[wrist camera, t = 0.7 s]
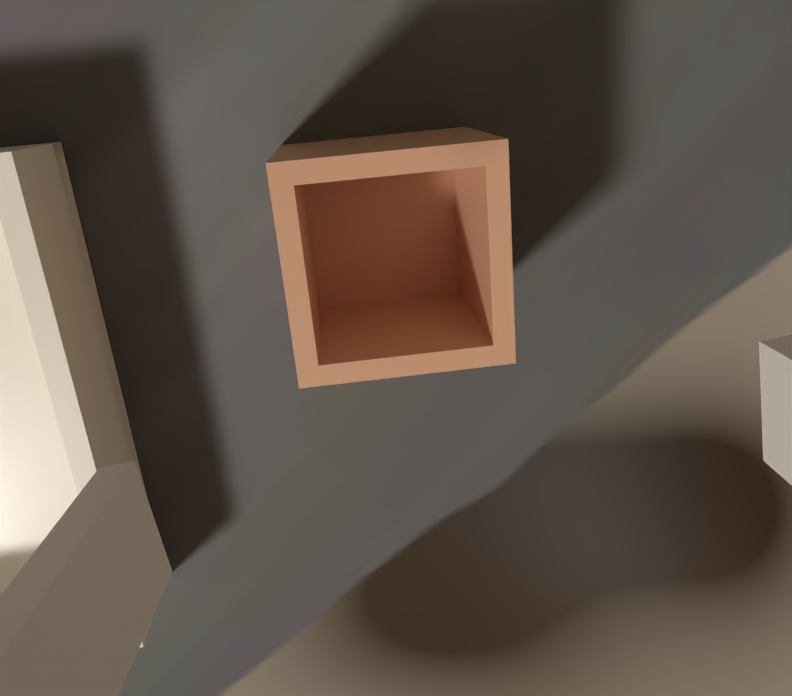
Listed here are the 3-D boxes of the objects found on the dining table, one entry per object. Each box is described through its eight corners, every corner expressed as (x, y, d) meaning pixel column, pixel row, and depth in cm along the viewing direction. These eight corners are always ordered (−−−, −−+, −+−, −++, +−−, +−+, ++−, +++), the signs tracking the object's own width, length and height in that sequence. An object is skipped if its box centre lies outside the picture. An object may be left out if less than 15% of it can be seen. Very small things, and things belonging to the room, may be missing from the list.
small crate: (281, 144, 31) (265, 163, 23) (465, 126, 31) (508, 138, 24) (305, 321, 34) (299, 388, 26) (474, 302, 34) (515, 363, 26)
